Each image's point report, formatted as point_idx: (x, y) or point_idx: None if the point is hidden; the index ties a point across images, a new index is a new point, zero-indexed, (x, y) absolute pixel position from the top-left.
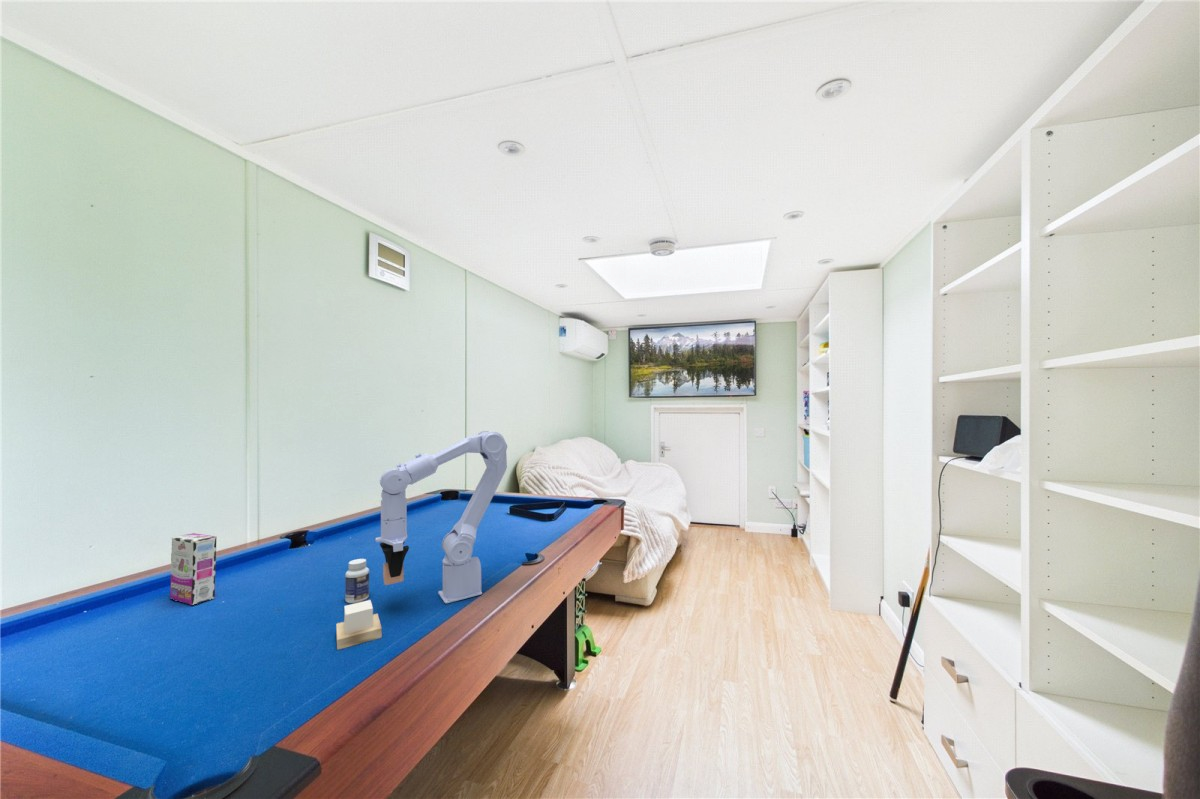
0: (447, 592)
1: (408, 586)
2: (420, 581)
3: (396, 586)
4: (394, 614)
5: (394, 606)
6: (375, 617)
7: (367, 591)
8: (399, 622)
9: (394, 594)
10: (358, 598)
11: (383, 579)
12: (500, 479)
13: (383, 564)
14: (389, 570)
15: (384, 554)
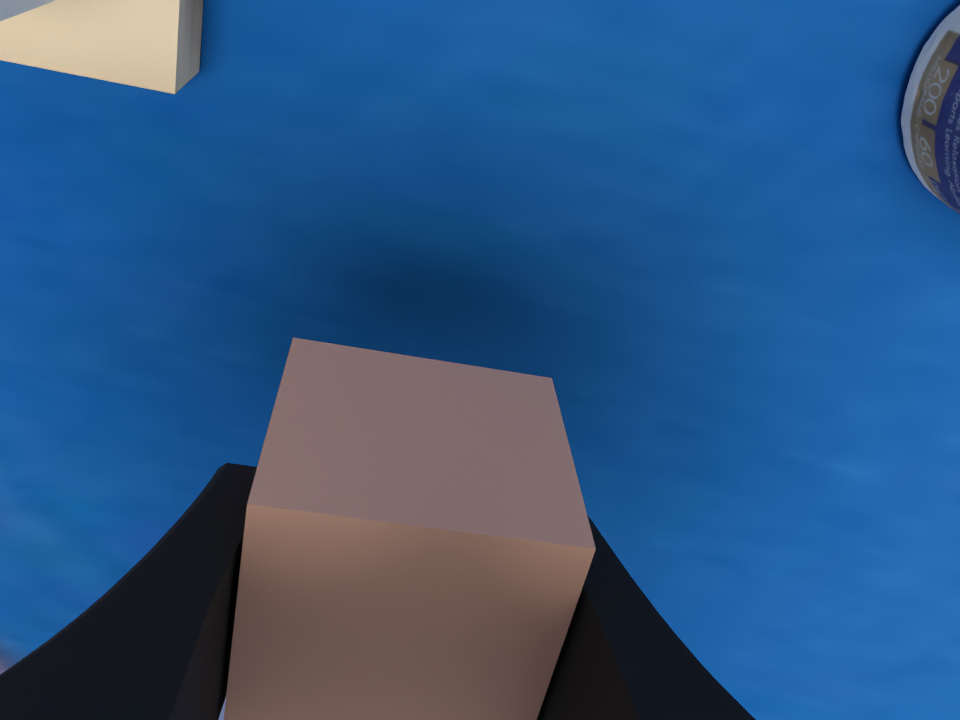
0: (223, 704)
1: (828, 536)
2: (837, 631)
3: (936, 467)
4: (278, 258)
5: (474, 315)
6: (67, 39)
7: (955, 204)
8: (48, 235)
9: (765, 399)
10: (928, 80)
11: (521, 381)
12: None
13: (539, 539)
14: (175, 526)
15: (684, 715)
